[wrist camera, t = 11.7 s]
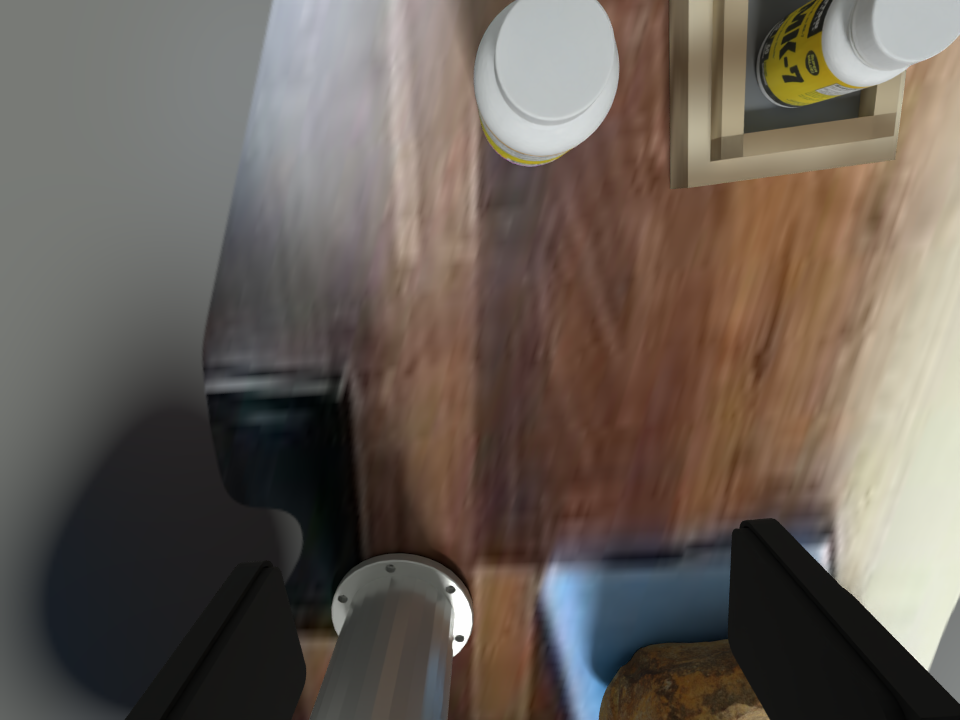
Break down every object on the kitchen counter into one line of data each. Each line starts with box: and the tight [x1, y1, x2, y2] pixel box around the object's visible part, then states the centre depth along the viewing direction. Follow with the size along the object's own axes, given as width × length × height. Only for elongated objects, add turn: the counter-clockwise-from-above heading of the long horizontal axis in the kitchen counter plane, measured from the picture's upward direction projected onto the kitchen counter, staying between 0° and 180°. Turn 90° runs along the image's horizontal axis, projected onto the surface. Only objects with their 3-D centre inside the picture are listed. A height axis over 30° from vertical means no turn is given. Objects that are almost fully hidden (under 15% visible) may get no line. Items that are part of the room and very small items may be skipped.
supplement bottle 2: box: [756, 0, 960, 108], centre depth 23 cm, size 5×5×8 cm
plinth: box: [669, 0, 906, 189], centre depth 28 cm, size 12×12×4 cm
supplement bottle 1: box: [474, 0, 619, 166], centre depth 25 cm, size 7×7×13 cm
